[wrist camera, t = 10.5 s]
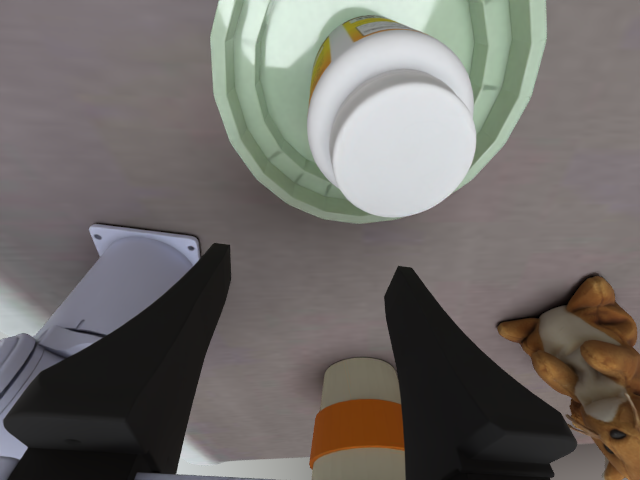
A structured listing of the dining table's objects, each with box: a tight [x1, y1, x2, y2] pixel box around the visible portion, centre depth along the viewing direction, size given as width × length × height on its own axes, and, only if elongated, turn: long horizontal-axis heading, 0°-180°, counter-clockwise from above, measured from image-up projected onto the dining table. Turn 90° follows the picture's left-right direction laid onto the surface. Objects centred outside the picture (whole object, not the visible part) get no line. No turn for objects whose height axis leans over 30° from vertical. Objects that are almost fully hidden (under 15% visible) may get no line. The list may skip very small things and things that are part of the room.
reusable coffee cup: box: [309, 358, 406, 480], centre depth 33 cm, size 13×13×15 cm
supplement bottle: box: [307, 15, 476, 218], centre depth 12 cm, size 6×6×10 cm
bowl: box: [210, 0, 547, 224], centre depth 15 cm, size 14×14×4 cm
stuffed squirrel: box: [498, 276, 640, 480], centre depth 26 cm, size 10×14×13 cm
